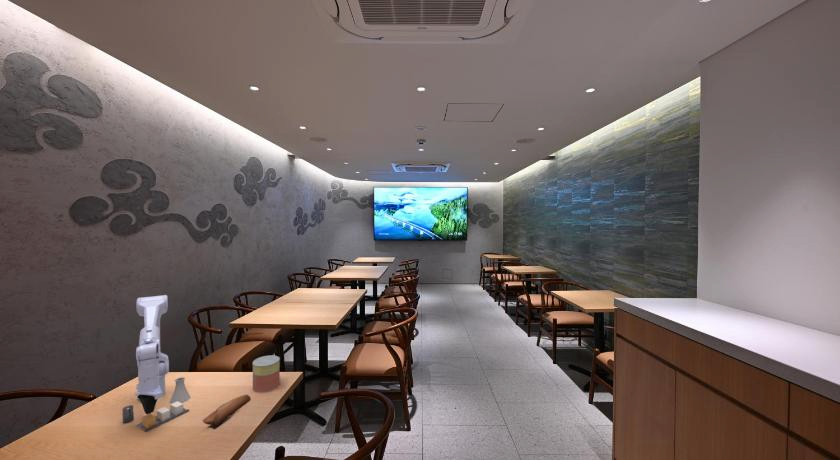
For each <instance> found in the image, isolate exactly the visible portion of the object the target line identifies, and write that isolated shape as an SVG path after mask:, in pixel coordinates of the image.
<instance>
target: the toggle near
mask: <svg viewBox="0 0 840 460" xmlns="http://www.w3.org/2000/svg"><path fill="white" fill-rule="evenodd" d="M169 404H170V409H169V410H170V411H171V413H173V414H175V415H177V414H179V413H181V412H183V408H184V403H180V402H178V401H177V402H175V403H173V404H171V403H169Z"/></svg>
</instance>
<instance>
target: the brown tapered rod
mask: <svg viewBox="0 0 840 460" xmlns="http://www.w3.org/2000/svg"><path fill="white" fill-rule="evenodd" d="M250 401H251V396H250V395H249V394H244V395H239V396H238V397H235V398H233V399H231V400H229V401H227V402H225V403H222V404H221V405H220V406H218V407H217V408H216V409H215V410H214V411H213V412H211V413H209V415H207V416H206V417H204V419H202V422H203V423H204V424H206V425H208V426H207V428H210V429H216V428H217V427H219V426H220V425H221V424H222V423H224V421H226V420H227V419H228V418H229V417H231V416H233V415H234V414H235V413H236V412H237V411H238V410H239V409H241V408H242V407H243V406H245V405H246V404H247V403H249V402H250Z"/></svg>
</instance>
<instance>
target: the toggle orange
mask: <svg viewBox="0 0 840 460" xmlns="http://www.w3.org/2000/svg"><path fill="white" fill-rule="evenodd" d="M156 416H157V415H154V414H152V413H150V414H145V415H144V416H142V417H141V422H142V425H143V426H144V427H146V428H149V427H151V426H153V425H155V424H156Z"/></svg>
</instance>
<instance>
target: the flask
mask: <svg viewBox="0 0 840 460" xmlns="http://www.w3.org/2000/svg"><path fill="white" fill-rule="evenodd" d="M185 379H186V377H184V376H180V377H178V378H177V377H176V378H175V379H174V382H175V386H174V390H173V393H172V395H171V398H170V400H169V404H173V403H175V402H177V401H178V402H180V403H182V404H184V403H186V402H188V401H189V400H190V399H191V396H190V393H189V391H188V389H187V388H186V385H185Z"/></svg>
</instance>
